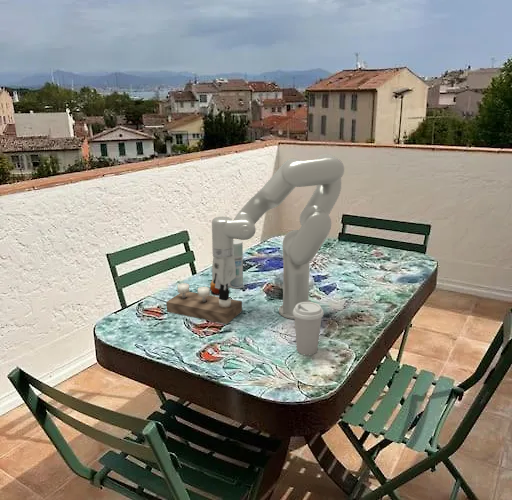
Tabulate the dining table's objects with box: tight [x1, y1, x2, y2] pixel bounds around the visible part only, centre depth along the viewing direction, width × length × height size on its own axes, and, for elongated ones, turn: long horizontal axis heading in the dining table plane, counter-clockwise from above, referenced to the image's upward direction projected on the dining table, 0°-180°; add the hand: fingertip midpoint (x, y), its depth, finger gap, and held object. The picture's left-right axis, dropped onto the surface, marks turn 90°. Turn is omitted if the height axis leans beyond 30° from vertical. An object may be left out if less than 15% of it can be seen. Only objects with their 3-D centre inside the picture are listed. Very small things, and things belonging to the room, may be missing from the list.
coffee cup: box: [293, 301, 324, 356], centre depth 143 cm, size 10×10×15 cm
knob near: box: [219, 296, 231, 308], centre depth 169 cm, size 4×4×5 cm
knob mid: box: [197, 286, 211, 302], centre depth 172 cm, size 4×4×5 cm
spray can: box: [229, 239, 244, 290], centre depth 195 cm, size 6×6×20 cm
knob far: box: [177, 282, 190, 298], centre depth 175 cm, size 4×4×5 cm
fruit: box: [209, 279, 219, 295], centre depth 191 cm, size 8×8×8 cm
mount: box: [165, 291, 243, 325], centre depth 173 cm, size 26×12×4 cm, turn 65°
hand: (224, 299), depth 168 cm, fingers closed
